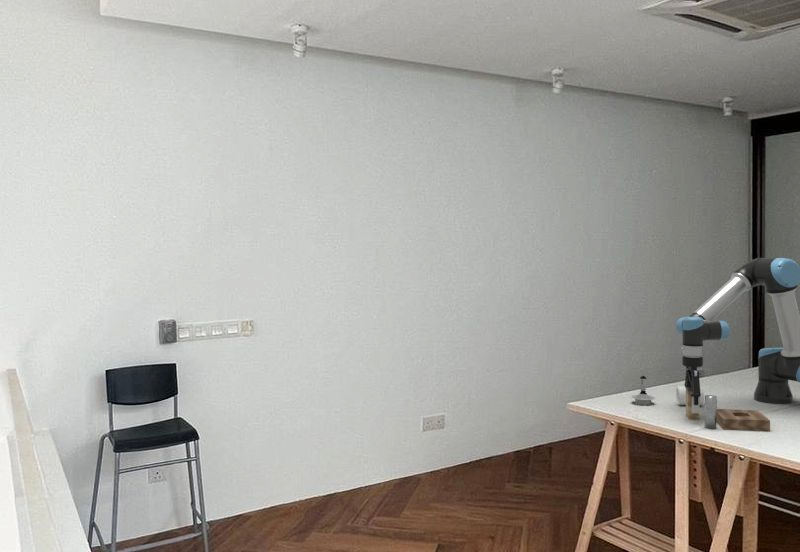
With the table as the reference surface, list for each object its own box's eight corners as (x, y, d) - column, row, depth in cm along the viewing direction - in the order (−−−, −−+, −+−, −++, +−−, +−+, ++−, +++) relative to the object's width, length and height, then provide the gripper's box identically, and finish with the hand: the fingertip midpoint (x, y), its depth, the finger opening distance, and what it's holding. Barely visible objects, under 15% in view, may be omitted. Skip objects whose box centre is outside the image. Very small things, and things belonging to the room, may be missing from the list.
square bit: (696, 417, 279) (696, 387, 279) (698, 419, 275) (698, 389, 275) (686, 416, 280) (686, 387, 280) (688, 419, 276) (688, 389, 276)
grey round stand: (659, 375, 305) (637, 372, 311) (649, 378, 297) (627, 375, 304) (659, 403, 305) (637, 399, 312) (649, 407, 298) (627, 403, 305)
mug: (704, 407, 296) (704, 388, 295) (679, 406, 298) (679, 388, 297) (698, 401, 307) (698, 383, 307) (674, 400, 309) (674, 382, 309)
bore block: (758, 420, 272) (758, 410, 272) (770, 431, 257) (770, 420, 257) (714, 418, 276) (714, 408, 276) (723, 429, 260) (723, 418, 260)
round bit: (715, 426, 265) (715, 395, 264) (717, 429, 261) (717, 397, 260) (703, 426, 266) (704, 394, 265) (706, 428, 262) (706, 397, 261)
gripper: (677, 351, 290) (677, 401, 291) (688, 360, 266) (687, 416, 266) (696, 351, 288) (696, 402, 289) (709, 361, 264) (708, 416, 265)
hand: (692, 409), depth 278 cm, fingers open, 13 cm apart
